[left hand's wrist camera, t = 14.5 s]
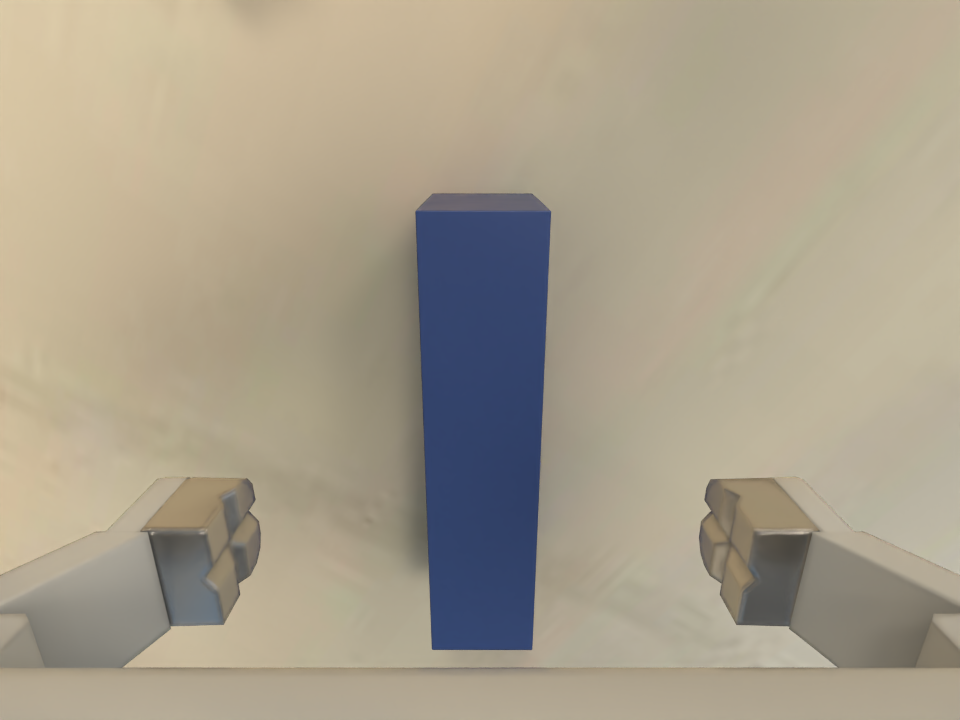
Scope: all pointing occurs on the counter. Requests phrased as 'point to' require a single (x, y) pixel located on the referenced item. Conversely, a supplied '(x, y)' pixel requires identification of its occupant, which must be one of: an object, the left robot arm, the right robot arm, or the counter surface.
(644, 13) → the counter surface
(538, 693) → the left robot arm
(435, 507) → the block
